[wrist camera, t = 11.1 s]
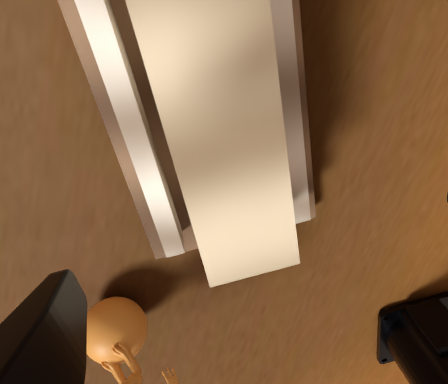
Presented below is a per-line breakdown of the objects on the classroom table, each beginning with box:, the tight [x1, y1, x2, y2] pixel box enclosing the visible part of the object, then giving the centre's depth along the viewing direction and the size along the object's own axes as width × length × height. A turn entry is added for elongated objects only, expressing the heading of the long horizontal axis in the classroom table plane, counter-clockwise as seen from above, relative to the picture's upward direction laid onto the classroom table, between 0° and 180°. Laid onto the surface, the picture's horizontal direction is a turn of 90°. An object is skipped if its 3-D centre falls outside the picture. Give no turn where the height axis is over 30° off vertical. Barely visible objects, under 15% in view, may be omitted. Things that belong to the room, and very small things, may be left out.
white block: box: [125, 0, 300, 288], centre depth 15 cm, size 12×4×6 cm, turn 11°
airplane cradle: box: [58, 0, 316, 259], centre depth 17 cm, size 17×10×5 cm, turn 11°
